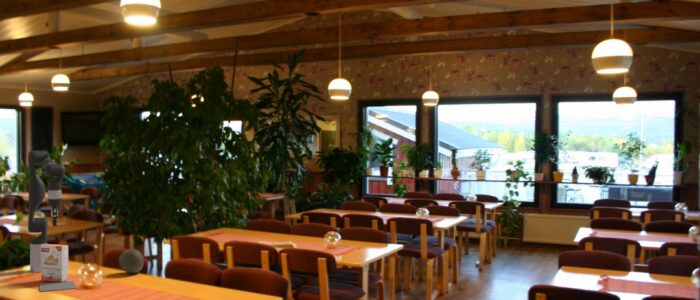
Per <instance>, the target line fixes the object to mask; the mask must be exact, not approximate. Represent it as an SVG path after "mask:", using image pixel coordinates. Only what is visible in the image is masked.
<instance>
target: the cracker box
mask: <svg viewBox="0 0 700 300" xmlns="http://www.w3.org/2000/svg"><path fill="white" fill-rule="evenodd" d="M40 273H41V275H40V276H41V277H40V278H41V279H40V280H41V282H51V283H55V282H66V281H69V245H68V244H55V243H54V244H51V243H47V245H42V248H41V272H40Z"/></svg>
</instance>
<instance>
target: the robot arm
mask: <svg viewBox="0 0 700 300" xmlns="http://www.w3.org/2000/svg"><path fill="white" fill-rule="evenodd" d="M27 163H28V164H27V167H28V217H27V230H28V231H27V232H28V233H30V234H37V233H39V235H38V236H35V237H33V238H31V239H30V242H29V243H30V245H29V247H30V250H29V251H30V255H29V257H30V259H29V261H30V262H29V263H30V264H29V271H30V272H31V273H41V248H42V245H47V244H48V227H49V226H48V225H49V223H48V222H49V221H48V218H47V217H35V215H36V212H37V210H38V208H39V207H40V205H41V204H42V203H43V201H44V199H45V198H46V186H45V183H44V181H43V180H42V179H41V177H40V176H39V174H38V172H37V169H36V166H41V168H42V169H43V170H44V171H45V172H44V173H45V175H46V176H47V177H56V178H53V179H51V180H48V184H47V186H48V188H47V189H48V191H47V206H48V207H51V208H50V213H51V214H50V216H51V218H52V219H51V224H52V227H57V225H58V216H59V208H58V207H60V206H62V203H63V202H62V201H63V197H62V195H63V193H62V183H63V178H64V175H65V172H66V167H65V165H64V164H62V163H56V162H55V161H54V160H52V158H51V156H50V154H49V153H48V152H47V151H45V150H29V151H28V154H27Z"/></svg>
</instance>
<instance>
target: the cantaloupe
mask: <svg viewBox="0 0 700 300" xmlns="http://www.w3.org/2000/svg"><path fill="white" fill-rule="evenodd" d="M118 263H119V266H120V267H121V269H122V270H123V271H124V272H125V273H128V274H136V273H139V272H140V271H141V270H142V269H143V267H144V255H143V254H142V252H140V251H139V250H138V249H133V248H132V249H128V250H127V249H126V250H124V251H122V253H121V255H119V258H118Z"/></svg>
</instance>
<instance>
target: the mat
mask: <svg viewBox="0 0 700 300" xmlns="http://www.w3.org/2000/svg"><path fill="white" fill-rule="evenodd" d="M76 289H77V287H76V282H75V280H67V281H64V282H47V283H45V282H43V283H39V293H44V292H45V293H46V292H55V291H56V292H57V291H66V290H76Z"/></svg>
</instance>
